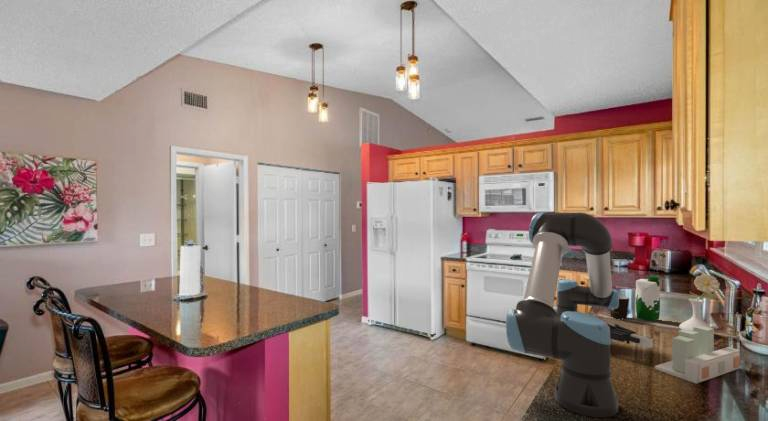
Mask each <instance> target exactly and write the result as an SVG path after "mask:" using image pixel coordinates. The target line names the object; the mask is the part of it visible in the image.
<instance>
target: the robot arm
mask: <svg viewBox="0 0 768 421" xmlns="http://www.w3.org/2000/svg"><path fill="white" fill-rule="evenodd" d="M528 238H529V241H530V243H531V244H532V246H533V248H534V252H533V256H532V257H533V258H532V261H531V265H530V270H529V274H528V278H527V282H526V286H525V292H524V296H523V299H521V300H519V301H518V302H517V303H516V306H515V309H514V308H509V309H508V311H507V313H506V317H505V318H506V319H505V331H506V332H505V333H506V338H507V339H506V340H507V343H508V346H509V347H510V349H512V350H513V351H518V352H520V353H523V354H530V355H535V356H538V357H544V358H550V359H554V360H559V361H561V371H560V373H559V376H558V378H557V381H556V384H555V387H554V398H555V401H556V402H557V403H558V404H559V405H560V406H561V407H563V408H564V409H567V410H568V411H570V412H573V413H576V414H579V415H582V416H586V417H591V418H610V417H613V416H616V415H618V414H617V413H618V412H619V399H618V397H617V395H616V391H615V389H614V385H613V382H612V379H611V378H612V377H611V345H612V340H615V341H618V342H621V343H625V342H626V344H627V345H629V344H630V343H633V344H636V345H639V346H642V347H646V348H649V349H652V348H654V347H653V346H654V345H653V344H654V342H653V340H654V339H653V338H649V337H646V336H642V335H639V334H637V332H636V331H634V330H632V329H628V328H626V327H624V326H620V325H619V324H617V323H615V324H614V325H613V324H610V323H607V322H606V321H605V320H603V319H601V317H599V316H595V315H591V314H589V313H585V312H581V311H578V305H580V306H581V305H582V306H586V307H587V306H588V307H589V306H590V307H596V308H603V309H610V308H612V309H617V308H618V306H619V295H620V292H619V291H618V289H614V288H613V283H612V282H613V280H612V268H611V258H610V257H611V255H610V251H612V249H613V238H612V236H611V233H610V231H609V229H608V227H606V225H604V223H603V222H602V221H600V220H599V219H598V218H597V217H595V216H594V215H591V214H589V213H586V212H580V211H579V212H560V211H559V212H556V211H555V212H554V211H552V212H550V211H545V212H538V213H536V214H534V215H533V216H532V218H531V221H530V222H529V230H528ZM569 247H581V250H582V251H583V252H584V253H585V259H586V268H587V277H588V283H589V286H584V285H578V282H577V280H575V279H568V278H567V279H566V278H565V279H563V278H562V279H559V275H560V268H561V262H562V257H563V255H564V254H566V252H567V251H568V250H569ZM556 295H557V305H556V306H554V304H555V299H556V298H555V297H556Z"/></svg>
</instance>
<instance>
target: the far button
mask: <svg viewBox="0 0 768 421" xmlns="http://www.w3.org/2000/svg"><path fill="white" fill-rule="evenodd" d="M712 328H713V327H712ZM712 328H708V327H704V326H696V327H693V331H694V332H698V333H699V356H700V355H703V354H706V353H710V352H713V351H715V340H714V339H715V335H714V334H715V329H714V328H713V329H712Z"/></svg>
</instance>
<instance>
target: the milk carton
mask: <svg viewBox="0 0 768 421" xmlns="http://www.w3.org/2000/svg"><path fill="white" fill-rule="evenodd" d="M635 312H636V319H640V320H645V321H649V322H654V323H655V322H657V321H658V320H660V315H661V314H660V313H661V280H659V276H655V275H654V276H653V275H648V276H647V278H646V279H645V278H639V279H637V280H635Z"/></svg>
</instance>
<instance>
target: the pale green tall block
mask: <svg viewBox="0 0 768 421" xmlns="http://www.w3.org/2000/svg"><path fill="white" fill-rule="evenodd" d="M671 339H672V342H671V343H672V344H671V345H672V348H671V349H672V350H671V351H672V352H671V353H672V354H671V355H672V357H671V358H672V360H671V361H672V369H674V370H676V371H679V372H682V373H685V360H686V359H690V358H693V357H694V340H693V339H690V338H686V337H682V336H678V335H677V336H675V337H672V338H671Z"/></svg>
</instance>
